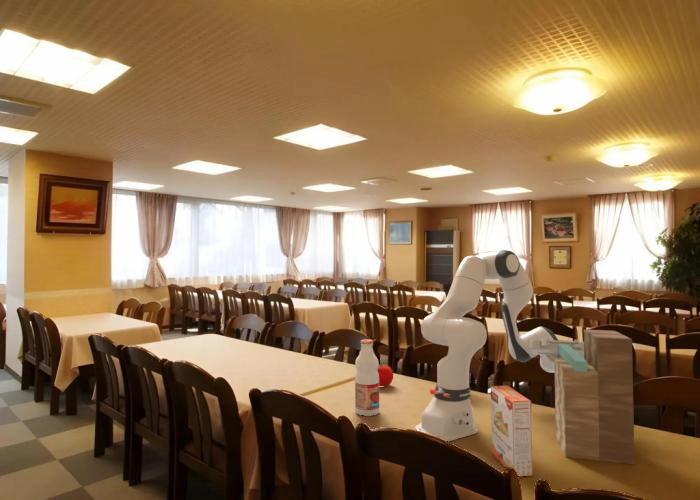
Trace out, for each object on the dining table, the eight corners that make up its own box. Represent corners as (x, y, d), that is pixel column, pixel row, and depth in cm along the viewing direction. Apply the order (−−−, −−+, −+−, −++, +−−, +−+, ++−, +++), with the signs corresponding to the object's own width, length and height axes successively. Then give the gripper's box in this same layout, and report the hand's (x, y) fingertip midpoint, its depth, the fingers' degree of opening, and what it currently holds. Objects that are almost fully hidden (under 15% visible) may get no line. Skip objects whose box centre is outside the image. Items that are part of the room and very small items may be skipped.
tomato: (363, 385, 197) (363, 363, 197) (380, 380, 205) (379, 359, 205) (382, 391, 188) (381, 368, 189) (398, 386, 196) (398, 364, 196)
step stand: (555, 436, 140) (553, 328, 141) (616, 442, 135) (614, 330, 136) (565, 456, 126) (563, 336, 126) (634, 464, 121) (631, 339, 122)
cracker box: (490, 454, 128) (489, 385, 128) (509, 453, 128) (508, 384, 129) (512, 478, 114) (511, 400, 114) (533, 477, 114) (532, 400, 115)
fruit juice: (358, 407, 169) (357, 337, 170) (381, 409, 167) (380, 338, 167) (352, 415, 160) (352, 342, 160) (377, 417, 158) (376, 343, 158)
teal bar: (557, 352, 150) (557, 343, 150) (567, 352, 149) (567, 344, 149) (576, 371, 125) (575, 361, 125) (587, 371, 124) (587, 361, 124)
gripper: (526, 343, 165) (530, 331, 154) (584, 346, 160) (592, 333, 148) (527, 359, 162) (531, 348, 151) (586, 362, 156) (595, 351, 145)
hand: (562, 340), depth 149 cm, fingers open, 8 cm apart
